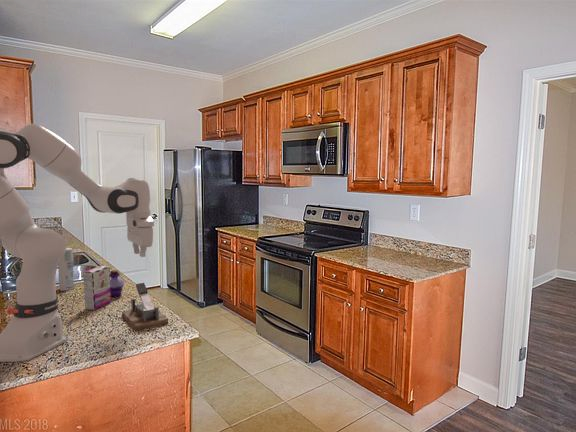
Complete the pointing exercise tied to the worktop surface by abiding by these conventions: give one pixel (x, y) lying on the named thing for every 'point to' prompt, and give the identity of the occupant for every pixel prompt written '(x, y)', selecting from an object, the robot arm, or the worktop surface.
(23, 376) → the worktop surface
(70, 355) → the worktop surface
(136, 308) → the block
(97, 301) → the candy bar box
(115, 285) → the potion bottle
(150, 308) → the clamp bar
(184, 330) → the worktop surface
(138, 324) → the walnut base plate
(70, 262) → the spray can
